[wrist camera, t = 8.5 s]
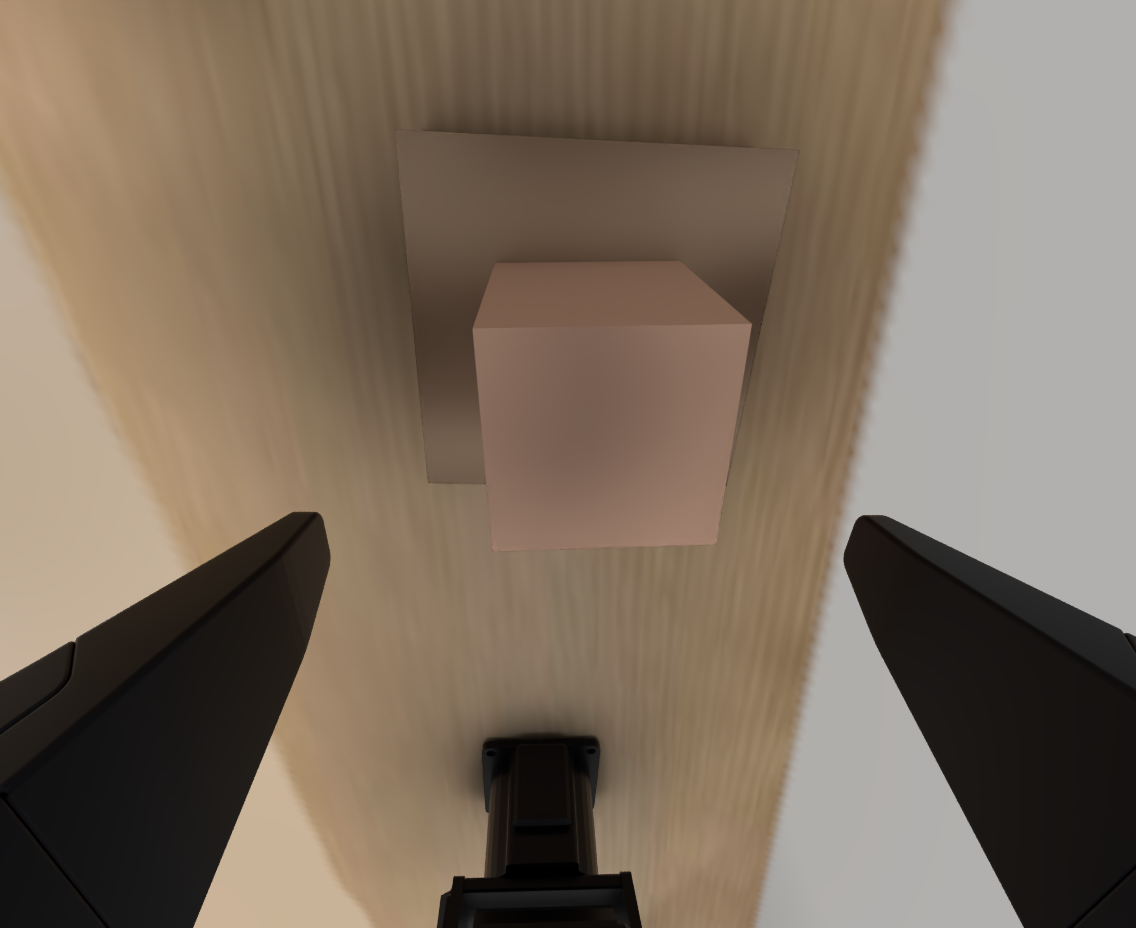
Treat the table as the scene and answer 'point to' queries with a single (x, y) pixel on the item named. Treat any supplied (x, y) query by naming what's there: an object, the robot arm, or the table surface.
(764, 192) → the block
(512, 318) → the terracotta block
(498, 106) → the table surface
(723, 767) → the table surface
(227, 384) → the table surface
